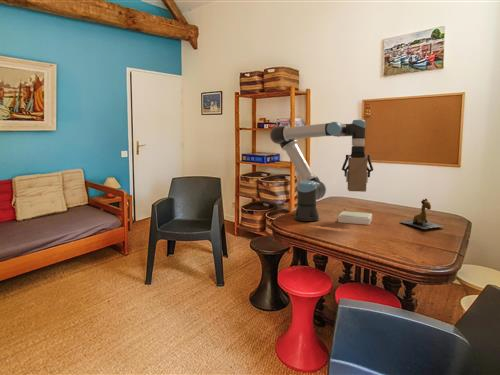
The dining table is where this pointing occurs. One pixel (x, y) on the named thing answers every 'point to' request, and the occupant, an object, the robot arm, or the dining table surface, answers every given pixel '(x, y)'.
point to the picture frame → (355, 218)
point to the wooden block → (357, 174)
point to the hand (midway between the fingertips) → (356, 182)
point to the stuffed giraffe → (422, 218)
